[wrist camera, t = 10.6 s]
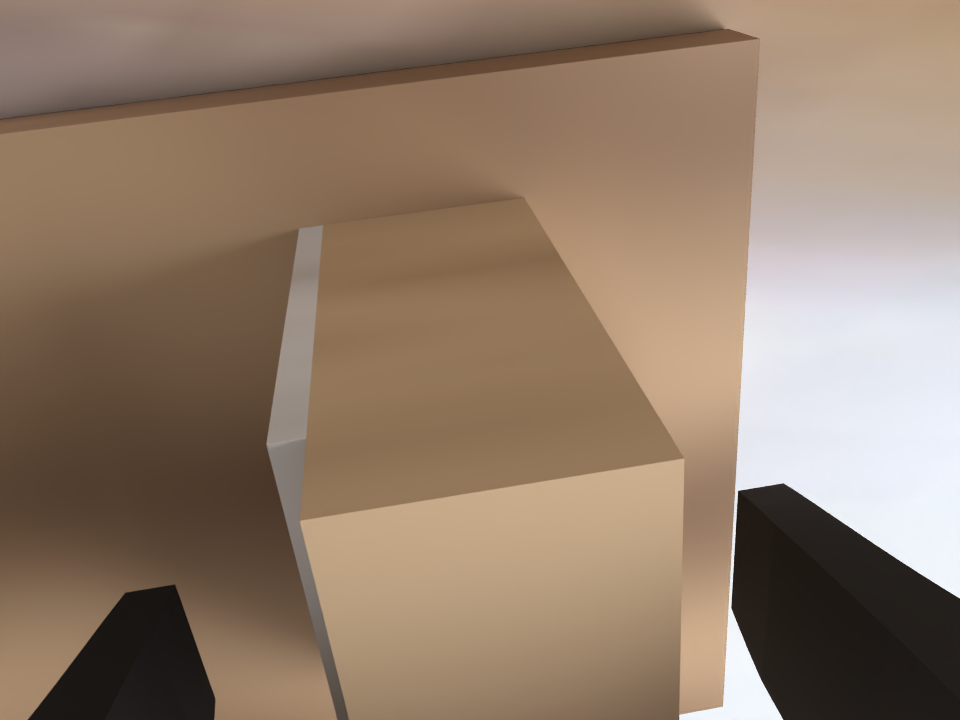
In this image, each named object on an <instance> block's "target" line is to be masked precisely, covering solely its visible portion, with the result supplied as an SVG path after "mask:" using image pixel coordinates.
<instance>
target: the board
mask: <svg viewBox="0 0 960 720" xmlns="http://www.w3.org/2000/svg"><path fill="white" fill-rule="evenodd" d="M759 48H760V39H759V38H756V37H752V36H749V35H746V34H743V33H740V32H736V31H733V30H730V29H724V30H716V31H708V32H700V33H692V34H684V35H676V36H668V37H660V38H652V39H644V40H636V41H627V42H619V43H611V44H603V45H595V46H587V47H579V48H571V49H563V50H555V51H547V52H539V53H531V54H523V55H515V56H507V57H499V58H491V59H483V60H475V61H466V62H458V63H450V64H442V65H434V66H426V67H418V68H410V69H402V70H394V71H386V72H378V73H370V74H362V75H354V76H346V77H338V78H330V79H322V80H314V81H305V82H297V83H289V84H281V85H273V86H265V87H257V88H249V89H241V90H233V91H225V92H217V93H209V94H201V95H193V96H185V97H177V98H169V99H161V100H153V101H145V102H136V103H128V104H120V105H112V106H104V107H96V108H88V109H80V110H72V111H64V112H56V113H48V114H40V115H32V116H24V117H16V118H8V119H0V720H28V719H29V717H30V716H31V715H32V713H33V712H34V711H35V710H36V708H37V707H38V706H39V705H40V703H41V702H42V701H43V699H44V698H45V697H46V696H47V694H48V693H49V692H50V691H51V689H52V688H53V687H54V685H55V684H56V683H57V681H58V680H59V679H60V677H61V676H62V675H63V673H64V672H65V671H66V670H67V668H68V667H69V666H70V664H71V663H72V662H73V660H74V659H75V658H76V656H77V655H78V654H79V652H80V651H81V650H82V648H83V647H84V646H85V644H86V643H87V642H88V640H89V639H90V638H91V636H92V635H93V634H94V632H95V631H96V630H97V628H98V627H99V626H100V624H101V623H102V622H103V620H104V619H105V618H106V617H107V615H108V614H109V613H110V611H111V610H112V609H113V608H114V606H115V605H116V604H117V603H118V601H119V600H120V599H121V597H122V596H123V595H124V594H125V593H126V592H132V591H138V590H144V589H150V588H156V587H162V586H168V585H174V584H175V585H176V588H177V591H178V594H179V597H180V599H181V602H182V605H183V608H184V611H185V614H186V616H187V619H188V622H189V625H190V628H191V631H192V633H193V636H194V639H195V642H196V645H197V648H198V651H199V653H200V656H201V659H202V662H203V665H204V668H205V670H206V673H207V676H208V679H209V682H210V685H211V687H212V690H213V693H214V696H215V699H216V701H215V718H214V720H337V716H336V712H335V708H334V704H333V700H332V697H331V693H330V689H329V685H328V681H327V677H326V673H325V670H324V666H323V662H322V658H321V654H320V650H319V646H318V642H317V639H316V635H315V631H314V627H313V623H312V619H311V615H310V612H309V608H308V604H307V600H306V596H305V592H304V588H303V584H302V581H301V577H300V573H299V569H298V565H297V561H296V557H295V554H294V550H293V546H292V542H291V538H290V534H289V530H288V526H287V523H286V519H285V515H284V511H283V507H282V503H281V499H280V496H279V492H278V488H277V484H276V480H275V476H274V472H273V468H272V465H271V461H270V457H269V453H268V449H267V445H266V443H267V437H268V430H269V423H270V417H271V410H272V404H273V397H274V391H275V384H276V378H277V371H278V365H279V358H280V351H281V345H282V338H283V332H284V325H285V319H286V312H287V306H288V299H289V292H290V286H291V279H292V273H293V266H294V260H295V253H296V247H297V240H298V234H299V228H306V227H314V226H321V225H328V224H336V223H343V222H350V221H358V220H365V219H372V218H380V217H387V216H394V215H402V214H409V213H416V212H423V211H431V210H438V209H445V208H453V207H460V206H467V205H475V204H482V203H489V202H497V201H504V200H511V199H519V198H525V200H526V201H527V203H528V204H529V206H530V208H531V209H532V211H533V213H534V214H535V216H536V218H537V219H538V221H539V222H540V224H541V226H542V227H543V229H544V231H545V232H546V234H547V235H548V237H549V239H550V240H551V242H552V244H553V245H554V247H555V248H556V250H557V252H558V253H559V255H560V257H561V258H562V260H563V261H564V263H565V265H566V266H567V268H568V270H569V271H570V273H571V275H572V276H573V278H574V279H575V281H576V283H577V284H578V286H579V288H580V289H581V291H582V292H583V294H584V296H585V297H586V299H587V301H588V302H589V304H590V305H591V307H592V309H593V310H594V312H595V314H596V315H597V317H598V318H599V320H600V322H601V323H602V325H603V327H604V328H605V330H606V332H607V333H608V335H609V336H610V338H611V340H612V341H613V343H614V345H615V346H616V348H617V349H618V351H619V353H620V354H621V356H622V358H623V359H624V361H625V362H626V364H627V366H628V367H629V369H630V371H631V372H632V374H633V375H634V377H635V379H636V380H637V382H638V384H639V385H640V387H641V389H642V390H643V392H644V393H645V395H646V397H647V398H648V400H649V402H650V403H651V405H652V406H653V408H654V410H655V411H656V413H657V415H658V416H659V418H660V419H661V421H662V423H663V424H664V426H665V428H666V429H667V431H668V432H669V434H670V436H671V437H672V439H673V441H674V442H675V444H676V446H677V447H678V449H679V450H680V452H681V454H682V455H683V457H684V505H683V554H682V602H681V650H680V699H679V714H685V713H690V712H695V711H701V710H706V709H712V708H717V707H722V706H723V694H724V676H725V658H726V640H727V622H728V604H729V586H730V568H731V550H732V532H733V514H734V497H735V479H736V461H737V443H738V425H739V407H740V389H741V371H742V353H743V335H744V317H745V299H746V281H747V263H748V245H749V227H750V209H751V191H752V173H753V155H754V137H755V119H756V101H757V83H758V66H759Z"/></svg>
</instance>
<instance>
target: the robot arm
mask: <svg viewBox="0 0 960 720" xmlns="http://www.w3.org/2000/svg"><path fill="white" fill-rule="evenodd" d="M731 608H732V611H733V613H734V616H735V618H736V621H737V623H738V626H739V628H740V631H741V633H742V636H743V638H744V641H745V643H746V646H747V648H748V650H749V653H750V655H751V657H752V660H753V662H754V664H755V667H756V669H757V671H758V673H759V676H760V678H761V680H762V682H763V684H764V686H765V688H766V689H767V691H768V693H769V695H770V697H771V698H772V700H773V702H774V704H775V706H776V707H777V709H778V711H779V713H780V714H781V716H782V718H783V720H960V598H958V597H956V596H955V595H953V594H951V593H950V592H948V591H946V590H945V589H943V588H942V587H940V586H938V585H937V584H935V583H934V582H932V581H930V580H929V579H927V578H926V577H924V576H922V575H921V574H919V573H918V572H916V571H915V570H913V569H911V568H910V567H908V566H907V565H905V564H904V563H902V562H901V561H899V560H898V559H896V558H894V557H893V556H891V555H890V554H888V553H887V552H885V551H884V550H882V549H881V548H879V547H878V546H876V545H875V544H873V543H872V542H870V541H869V540H867V539H866V538H864V537H863V536H861V535H860V534H858V533H857V532H855V531H854V530H853V529H851V528H850V527H848V526H847V525H845V524H844V523H842V522H841V521H839V520H838V519H836V518H835V517H833V516H832V515H830V514H829V513H827V512H826V511H825V510H823V509H822V508H820V507H819V506H817V505H816V504H814V503H813V502H811V501H810V500H808V499H807V498H805V497H804V496H802V495H801V494H799V493H798V492H796V491H795V490H793V489H791V488H790V487H788V486H787V485H785V484H784V483H783V484H777V485H771V486H765V487H759V488H753V489H747V490H741V491H738V504H737V521H736V538H735V555H734V573H733V590H732V607H731ZM215 701H216V699H215V696H214V693H213V690H212V687H211V685H210V682H209V679H208V676H207V673H206V670H205V668H204V665H203V662H202V659H201V656H200V653H199V651H198V648H197V645H196V642H195V639H194V636H193V633H192V631H191V628H190V625H189V622H188V619H187V616H186V614H185V611H184V608H183V605H182V602H181V599H180V597H179V594H178V591H177V588H176V585H175V584H174V585H168V586H162V587H156V588H150V589H144V590H138V591H132V592H126V593H125V594H124V595H123V596H122V597H121V599H120V600H119V601H118V603H117V604H116V605H115V606H114V608H113V609H112V610H111V611H110V613H109V614H108V615H107V617H106V618H105V619H104V620H103V622H102V623H101V624H100V626H99V627H98V628H97V630H96V631H95V632H94V634H93V635H92V636H91V638H90V639H89V640H88V642H87V643H86V644H85V646H84V647H83V648H82V650H81V651H80V652H79V654H78V655H77V656H76V658H75V659H74V660H73V662H72V663H71V664H70V666H69V667H68V668H67V670H66V671H65V672H64V673H63V675H62V676H61V677H60V679H59V680H58V681H57V683H56V684H55V685H54V687H53V688H52V689H51V691H50V692H49V693H48V694H47V696H46V697H45V698H44V699H43V701H42V702H41V703H40V705H39V706H38V707H37V708H36V710H35V711H34V712H33V713H32V715H31V716H30V717H29V719H28V720H214V718H215Z"/></svg>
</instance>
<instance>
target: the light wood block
mask: <svg viewBox="0 0 960 720" xmlns="http://www.w3.org/2000/svg"><path fill="white" fill-rule="evenodd" d="M266 445H267V449H268V453H269V457H270V461H271V465H272V468H273V472H274V476H275V480H276V484H277V488H278V492H279V496H280V499H281V503H282V507H283V511H284V515H285V519H286V523H287V526H288V530H289V534H290V538H291V542H292V546H293V550H294V554H295V557H296V561H297V565H298V569H299V573H300V577H301V581H302V584H303V588H304V592H305V596H306V600H307V604H308V608H309V612H310V615H311V619H312V623H313V627H314V631H315V635H316V639H317V642H318V646H319V650H320V654H321V658H322V662H323V666H324V670H325V673H326V677H327V681H328V685H329V689H330V693H331V697H332V700H333V704H334V708H335V712H336V716H337V720H679V699H680V650H681V602H682V554H683V505H684V457H683V455H682V454H681V452H680V450H679V449H678V447H677V446H676V444H675V442H674V441H673V439H672V437H671V436H670V434H669V432H668V431H667V429H666V428H665V426H664V424H663V423H662V421H661V419H660V418H659V416H658V415H657V413H656V411H655V410H654V408H653V406H652V405H651V403H650V402H649V400H648V398H647V397H646V395H645V393H644V392H643V390H642V389H641V387H640V385H639V384H638V382H637V380H636V379H635V377H634V375H633V374H632V372H631V371H630V369H629V367H628V366H627V364H626V362H625V361H624V359H623V358H622V356H621V354H620V353H619V351H618V349H617V348H616V346H615V345H614V343H613V341H612V340H611V338H610V336H609V335H608V333H607V332H606V330H605V328H604V327H603V325H602V323H601V322H600V320H599V318H598V317H597V315H596V314H595V312H594V310H593V309H592V307H591V305H590V304H589V302H588V301H587V299H586V297H585V296H584V294H583V292H582V291H581V289H580V288H579V286H578V284H577V283H576V281H575V279H574V278H573V276H572V275H571V273H570V271H569V270H568V268H567V266H566V265H565V263H564V261H563V260H562V258H561V257H560V255H559V253H558V252H557V250H556V248H555V247H554V245H553V244H552V242H551V240H550V239H549V237H548V235H547V234H546V232H545V231H544V229H543V227H542V226H541V224H540V222H539V221H538V219H537V218H536V216H535V214H534V213H533V211H532V209H531V208H530V206H529V204H528V203H527V201H526V200H525V198H519V199H511V200H504V201H497V202H489V203H482V204H475V205H467V206H460V207H453V208H445V209H438V210H431V211H423V212H416V213H409V214H402V215H394V216H387V217H380V218H372V219H365V220H358V221H350V222H343V223H336V224H328V225H321V226H314V227H306V228H299V234H298V240H297V247H296V253H295V260H294V266H293V273H292V279H291V286H290V292H289V299H288V306H287V312H286V319H285V325H284V332H283V338H282V345H281V351H280V358H279V365H278V371H277V378H276V384H275V391H274V397H273V404H272V410H271V417H270V423H269V430H268V437H267V443H266Z"/></svg>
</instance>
